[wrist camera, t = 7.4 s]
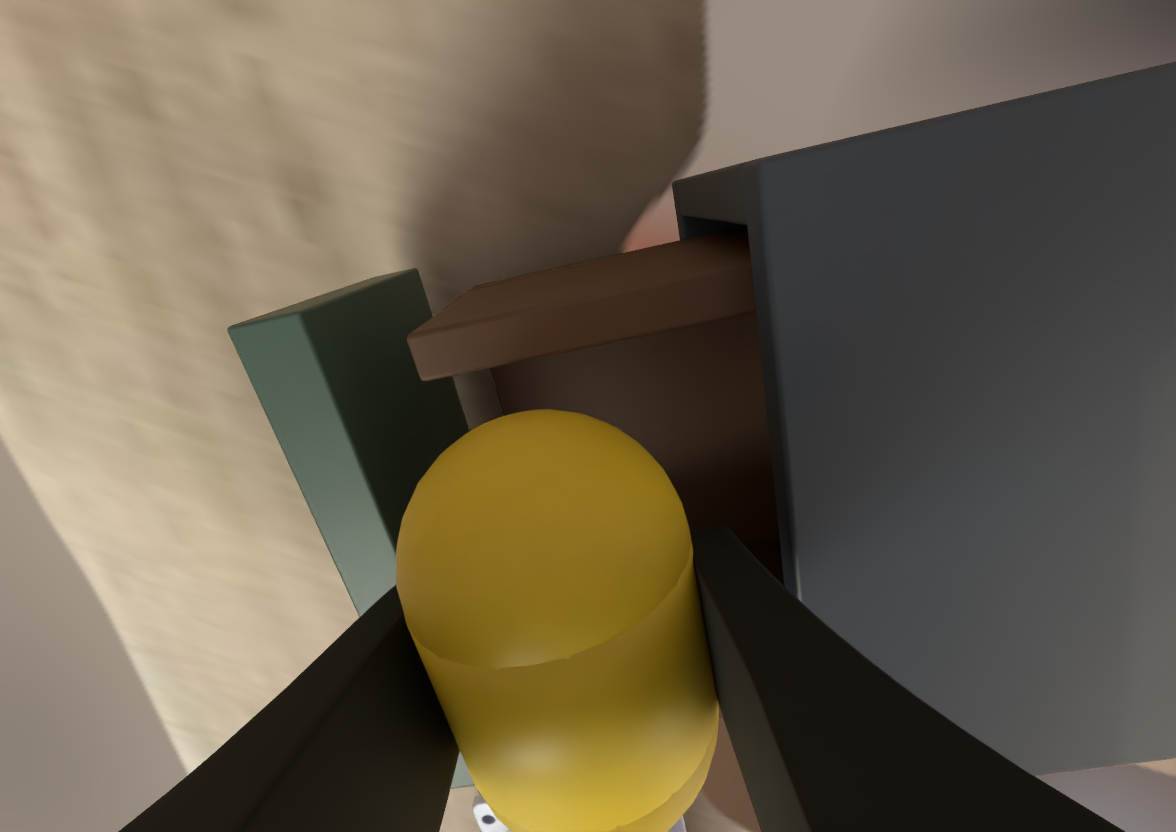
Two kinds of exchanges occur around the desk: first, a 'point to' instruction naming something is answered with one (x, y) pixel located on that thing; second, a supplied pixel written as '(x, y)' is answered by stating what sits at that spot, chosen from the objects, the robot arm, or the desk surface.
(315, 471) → the drawer
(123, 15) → the desk surface
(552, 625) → the lemon
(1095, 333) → the cabinet
